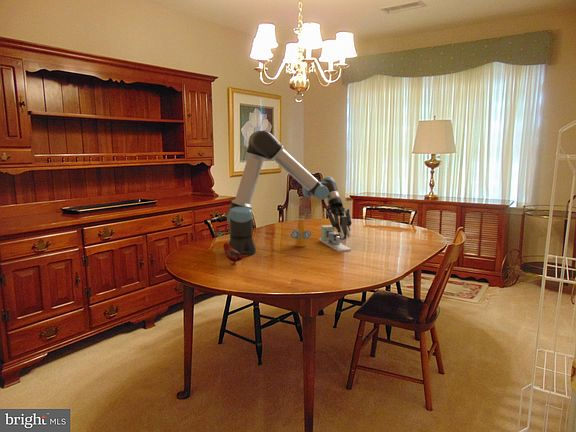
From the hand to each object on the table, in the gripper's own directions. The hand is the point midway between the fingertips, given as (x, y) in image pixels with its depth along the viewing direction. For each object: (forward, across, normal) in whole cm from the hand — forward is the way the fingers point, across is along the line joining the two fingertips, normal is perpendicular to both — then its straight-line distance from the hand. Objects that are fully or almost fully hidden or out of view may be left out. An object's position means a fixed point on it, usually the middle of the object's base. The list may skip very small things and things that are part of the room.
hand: (346, 236), depth 220 cm
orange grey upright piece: (-8, +18, -20) cm, 28 cm away
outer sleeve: (-6, 0, -16) cm, 17 cm away
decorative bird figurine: (+12, +60, 0) cm, 61 cm away
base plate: (-5, 0, -16) cm, 17 cm away
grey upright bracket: (-5, 0, -11) cm, 12 cm away
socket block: (-13, 0, -23) cm, 26 cm away
